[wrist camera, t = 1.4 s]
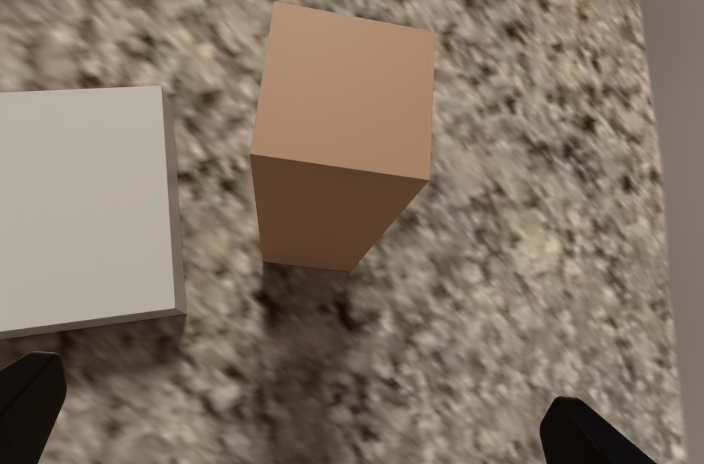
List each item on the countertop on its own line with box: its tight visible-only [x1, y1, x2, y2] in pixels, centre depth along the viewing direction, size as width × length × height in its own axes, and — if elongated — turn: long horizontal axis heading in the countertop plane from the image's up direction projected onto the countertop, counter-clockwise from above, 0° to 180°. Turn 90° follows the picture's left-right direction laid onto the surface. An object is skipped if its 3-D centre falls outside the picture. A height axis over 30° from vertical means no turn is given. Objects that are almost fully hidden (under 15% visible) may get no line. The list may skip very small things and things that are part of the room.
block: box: [250, 2, 435, 272], centre depth 17 cm, size 4×4×12 cm
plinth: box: [0, 86, 187, 340], centre depth 19 cm, size 10×10×2 cm
